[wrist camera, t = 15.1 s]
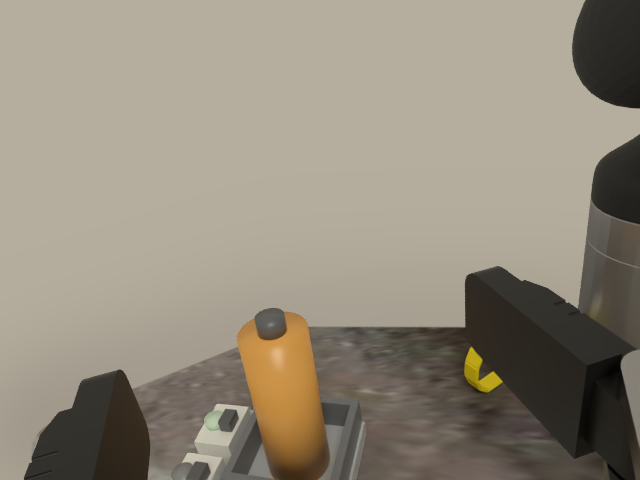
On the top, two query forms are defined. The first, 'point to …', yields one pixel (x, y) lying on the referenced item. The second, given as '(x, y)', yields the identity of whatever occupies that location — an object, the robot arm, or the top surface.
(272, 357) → the orange thermos flask
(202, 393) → the top surface
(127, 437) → the robot arm
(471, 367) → the watch
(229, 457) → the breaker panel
